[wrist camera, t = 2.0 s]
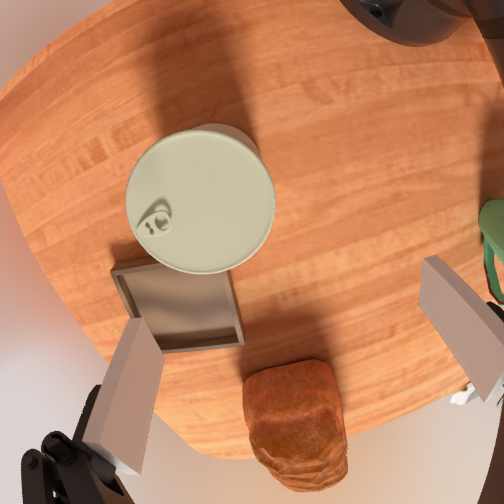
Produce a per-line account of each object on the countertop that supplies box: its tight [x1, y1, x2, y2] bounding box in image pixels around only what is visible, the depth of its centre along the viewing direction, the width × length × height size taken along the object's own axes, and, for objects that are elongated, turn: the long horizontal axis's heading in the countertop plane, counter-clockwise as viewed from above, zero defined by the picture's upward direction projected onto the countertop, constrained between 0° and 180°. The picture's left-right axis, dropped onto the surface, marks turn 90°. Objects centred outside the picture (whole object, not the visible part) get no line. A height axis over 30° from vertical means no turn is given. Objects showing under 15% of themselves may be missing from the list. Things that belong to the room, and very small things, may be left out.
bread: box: [243, 359, 348, 492], centre depth 38 cm, size 14×26×16 cm, turn 18°
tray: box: [110, 256, 245, 354], centre depth 33 cm, size 13×13×2 cm
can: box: [126, 123, 276, 274], centre depth 22 cm, size 9×9×12 cm
